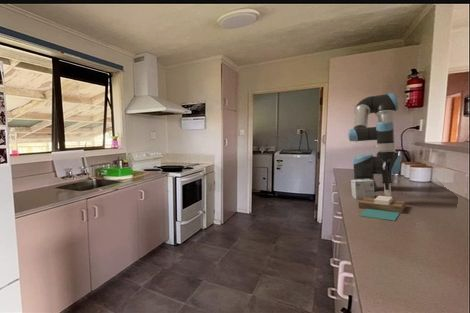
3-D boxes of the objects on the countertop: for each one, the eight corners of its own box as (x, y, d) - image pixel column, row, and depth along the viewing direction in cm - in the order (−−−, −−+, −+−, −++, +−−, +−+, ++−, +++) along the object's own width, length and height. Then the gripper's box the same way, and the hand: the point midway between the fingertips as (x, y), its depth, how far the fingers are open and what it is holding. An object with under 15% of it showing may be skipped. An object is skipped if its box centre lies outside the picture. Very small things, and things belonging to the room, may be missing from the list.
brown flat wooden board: (365, 202, 128) (365, 197, 128) (405, 206, 116) (405, 200, 115) (358, 208, 120) (358, 202, 119) (401, 213, 107) (401, 207, 107)
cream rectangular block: (378, 199, 122) (378, 195, 122) (392, 200, 117) (392, 196, 117) (374, 203, 115) (374, 199, 115) (388, 205, 111) (388, 201, 111)
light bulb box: (369, 195, 141) (368, 178, 140) (375, 198, 134) (374, 180, 134) (351, 196, 142) (350, 179, 141) (356, 199, 135) (354, 181, 135)
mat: (366, 209, 117) (366, 208, 117) (399, 213, 107) (399, 212, 107) (358, 215, 108) (358, 215, 108) (394, 221, 99) (394, 220, 99)
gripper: (380, 150, 129) (382, 192, 131) (374, 152, 120) (376, 197, 121) (396, 149, 124) (398, 193, 125) (391, 152, 115) (393, 198, 116)
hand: (387, 195), depth 123 cm, fingers closed
